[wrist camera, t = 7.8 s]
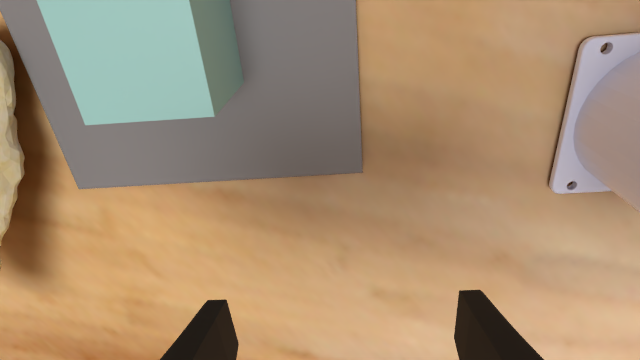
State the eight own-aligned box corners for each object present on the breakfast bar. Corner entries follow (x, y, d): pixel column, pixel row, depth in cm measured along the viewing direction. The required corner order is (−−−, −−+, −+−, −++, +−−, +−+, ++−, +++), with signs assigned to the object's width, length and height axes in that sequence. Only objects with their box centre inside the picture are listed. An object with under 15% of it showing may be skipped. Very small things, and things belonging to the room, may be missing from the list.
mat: (345, -238, 14) (345, -247, 13) (362, 167, 21) (362, 172, 21) (-71, -180, 15) (-86, -185, 14) (84, 184, 22) (78, 189, 22)
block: (222, -37, 16) (180, -40, 12) (244, 82, 19) (214, 116, 14) (109, -26, 17) (26, -25, 12) (144, 89, 19) (85, 125, 15)
